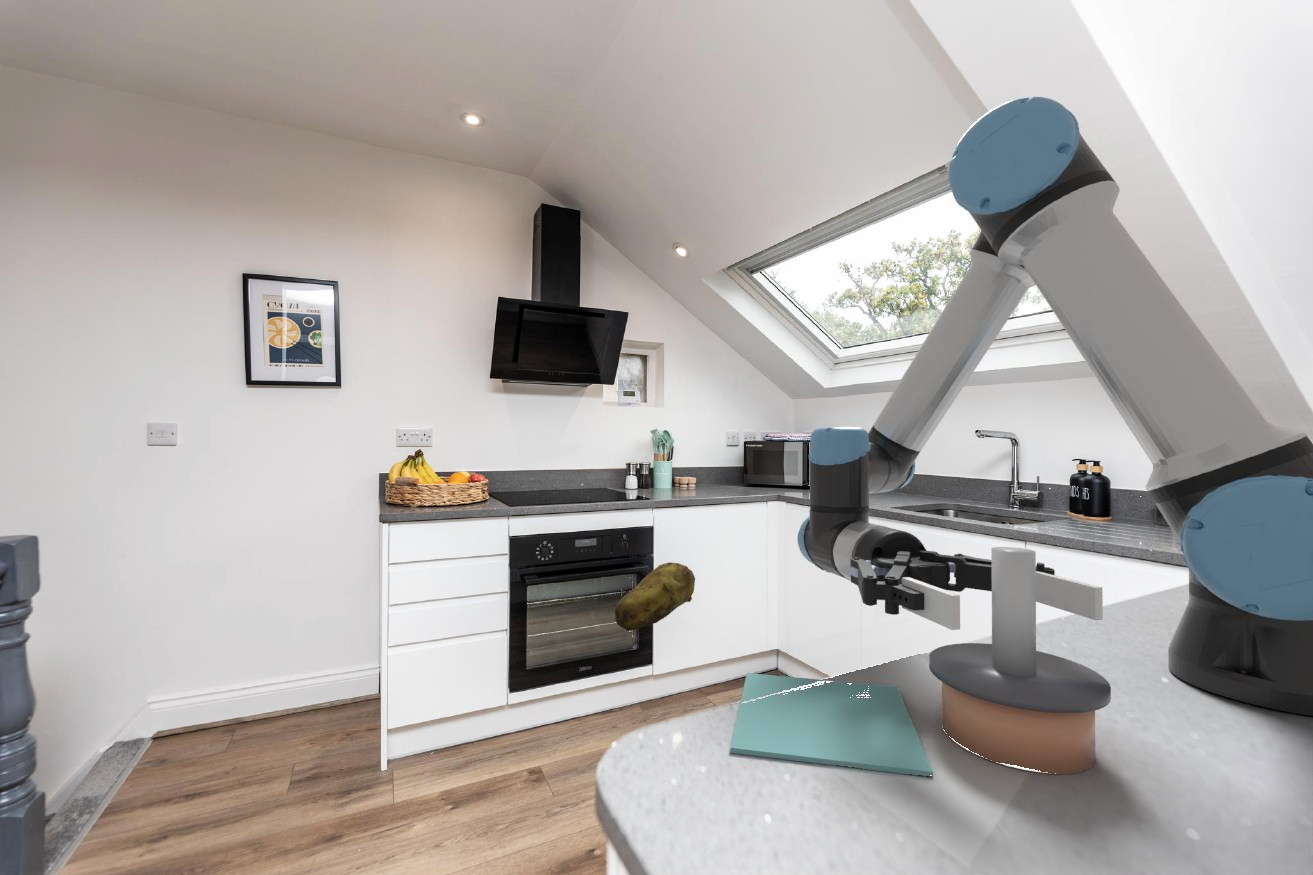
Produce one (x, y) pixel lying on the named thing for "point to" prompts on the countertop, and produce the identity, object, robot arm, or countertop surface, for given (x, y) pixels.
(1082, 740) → the orange bowl
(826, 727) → the mat
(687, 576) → the potato
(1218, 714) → the countertop surface
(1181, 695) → the countertop surface
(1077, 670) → the lid
